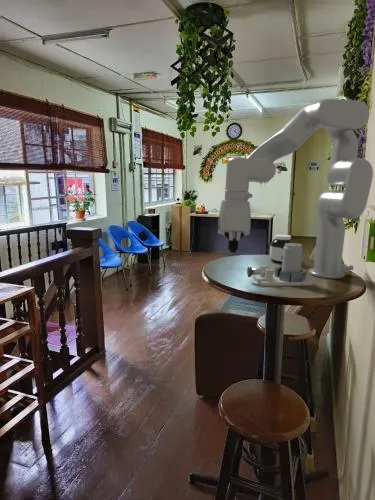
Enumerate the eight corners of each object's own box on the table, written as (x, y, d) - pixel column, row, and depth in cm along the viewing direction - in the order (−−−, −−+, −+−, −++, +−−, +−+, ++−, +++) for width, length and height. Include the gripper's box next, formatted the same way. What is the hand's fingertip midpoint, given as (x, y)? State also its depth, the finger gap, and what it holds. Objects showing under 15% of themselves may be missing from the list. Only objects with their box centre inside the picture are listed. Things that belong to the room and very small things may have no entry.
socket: (297, 274, 126) (298, 266, 125) (309, 281, 116) (310, 273, 116) (271, 274, 125) (272, 266, 124) (282, 282, 115) (283, 273, 115)
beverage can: (301, 281, 117) (304, 246, 114) (281, 279, 118) (284, 245, 116) (299, 276, 123) (302, 243, 121) (280, 274, 124) (283, 242, 122)
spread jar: (269, 263, 148) (271, 236, 145) (268, 257, 159) (270, 232, 156) (298, 264, 146) (300, 237, 143) (295, 259, 157) (297, 233, 154)
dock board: (299, 277, 126) (301, 263, 125) (312, 285, 117) (314, 270, 116) (252, 277, 124) (253, 264, 123) (261, 286, 114) (262, 271, 113)
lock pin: (267, 275, 121) (268, 265, 121) (271, 278, 118) (272, 267, 117) (246, 275, 120) (247, 265, 120) (249, 278, 117) (250, 268, 116)
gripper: (254, 197, 117) (250, 250, 121) (211, 195, 115) (208, 249, 119) (262, 198, 110) (257, 254, 113) (216, 196, 108) (212, 253, 111)
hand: (232, 251), depth 116 cm, fingers closed
